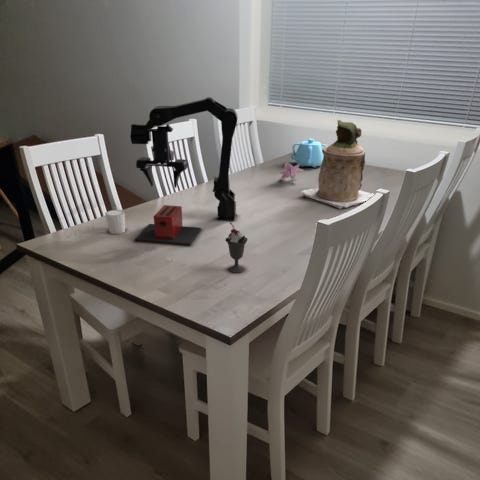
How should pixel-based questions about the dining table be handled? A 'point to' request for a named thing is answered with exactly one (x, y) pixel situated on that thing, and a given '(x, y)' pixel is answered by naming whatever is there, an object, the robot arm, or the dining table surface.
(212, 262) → the dining table surface
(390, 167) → the dining table surface
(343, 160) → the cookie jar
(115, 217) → the shot glass
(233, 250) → the sundae
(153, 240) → the placemat
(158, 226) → the toaster
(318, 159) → the decorative pot
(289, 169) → the lily
